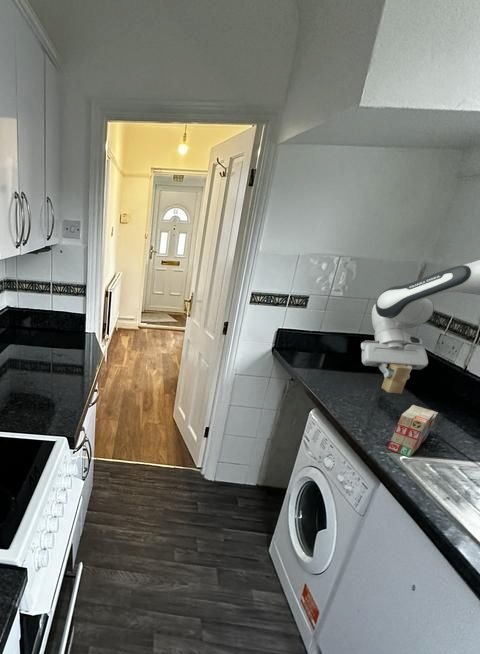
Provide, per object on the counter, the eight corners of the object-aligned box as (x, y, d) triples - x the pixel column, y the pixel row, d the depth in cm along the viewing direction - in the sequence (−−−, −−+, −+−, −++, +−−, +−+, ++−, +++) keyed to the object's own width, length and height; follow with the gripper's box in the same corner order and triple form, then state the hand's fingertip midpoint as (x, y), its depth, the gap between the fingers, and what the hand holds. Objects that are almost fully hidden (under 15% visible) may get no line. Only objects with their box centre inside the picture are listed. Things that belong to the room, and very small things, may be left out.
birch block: (394, 388, 144) (403, 364, 141) (401, 393, 140) (411, 368, 137) (380, 387, 144) (389, 363, 141) (387, 392, 140) (397, 367, 137)
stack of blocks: (406, 429, 143) (420, 397, 138) (427, 437, 139) (443, 404, 134) (386, 448, 130) (401, 414, 125) (409, 457, 126) (426, 422, 120)
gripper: (365, 335, 142) (371, 371, 137) (427, 339, 141) (435, 376, 136) (355, 344, 148) (360, 379, 143) (414, 348, 147) (421, 384, 142)
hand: (397, 378), depth 140 cm, fingers closed on birch block, 4 cm apart
